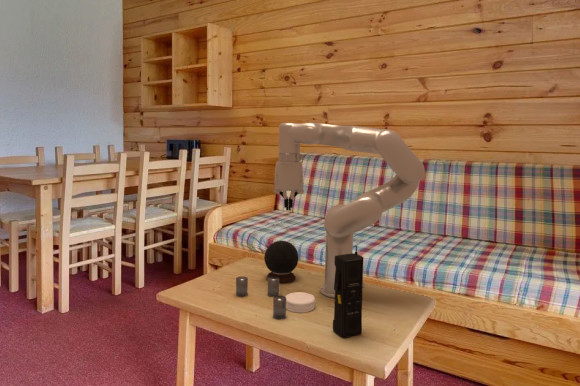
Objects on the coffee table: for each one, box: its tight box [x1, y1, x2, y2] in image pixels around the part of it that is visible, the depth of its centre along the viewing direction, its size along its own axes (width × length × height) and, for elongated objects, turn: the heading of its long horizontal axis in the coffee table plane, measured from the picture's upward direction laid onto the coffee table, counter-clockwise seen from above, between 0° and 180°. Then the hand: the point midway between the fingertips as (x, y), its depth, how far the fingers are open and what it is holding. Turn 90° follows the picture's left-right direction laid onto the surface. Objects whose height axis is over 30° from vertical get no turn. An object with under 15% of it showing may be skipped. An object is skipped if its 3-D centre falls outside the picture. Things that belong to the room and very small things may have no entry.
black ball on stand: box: [263, 240, 300, 285], centre depth 173 cm, size 13×13×15 cm
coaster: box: [284, 291, 316, 314], centre depth 147 cm, size 10×10×4 cm
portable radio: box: [332, 245, 364, 339], centre depth 127 cm, size 8×6×25 cm
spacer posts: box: [235, 275, 287, 320], centre depth 147 cm, size 17×22×6 cm
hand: (288, 209), depth 160 cm, fingers closed
